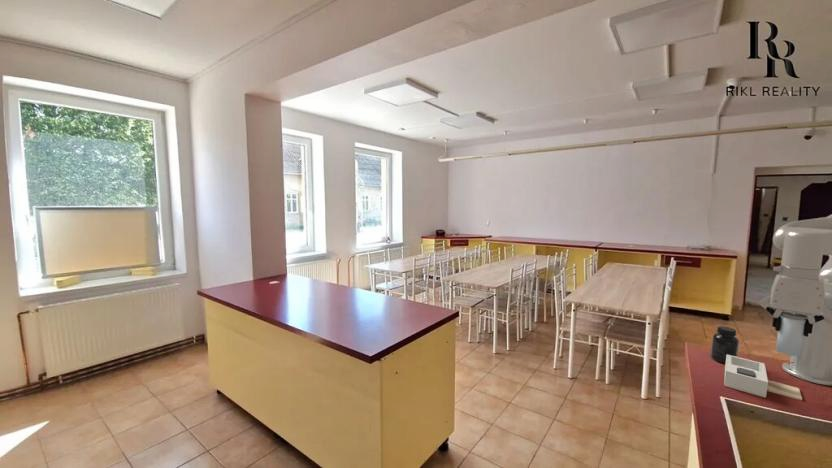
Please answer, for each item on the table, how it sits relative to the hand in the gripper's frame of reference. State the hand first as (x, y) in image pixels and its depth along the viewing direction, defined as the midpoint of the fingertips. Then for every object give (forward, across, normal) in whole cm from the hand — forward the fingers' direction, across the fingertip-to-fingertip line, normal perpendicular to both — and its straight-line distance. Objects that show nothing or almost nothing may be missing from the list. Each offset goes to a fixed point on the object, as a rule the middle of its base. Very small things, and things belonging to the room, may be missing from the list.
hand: (790, 331), depth 98 cm
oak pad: (+19, 0, 0) cm, 19 cm away
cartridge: (+6, 0, 0) cm, 6 cm away
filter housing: (+19, -8, -1) cm, 21 cm away
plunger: (+17, -8, -6) cm, 20 cm away
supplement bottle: (+19, -13, +12) cm, 26 cm away
